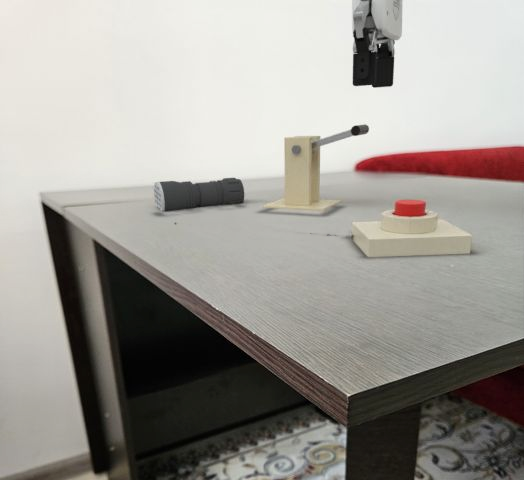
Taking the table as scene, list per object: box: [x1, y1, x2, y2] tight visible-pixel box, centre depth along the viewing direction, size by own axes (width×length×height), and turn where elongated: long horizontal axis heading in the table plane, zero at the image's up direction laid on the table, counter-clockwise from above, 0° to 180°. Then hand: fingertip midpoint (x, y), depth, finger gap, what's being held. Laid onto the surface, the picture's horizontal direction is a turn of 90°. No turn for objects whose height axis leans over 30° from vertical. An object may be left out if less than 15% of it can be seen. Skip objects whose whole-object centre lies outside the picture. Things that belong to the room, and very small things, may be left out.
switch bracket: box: [261, 135, 342, 212], centre depth 88 cm, size 11×9×12 cm
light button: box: [394, 199, 427, 217], centre depth 63 cm, size 4×4×2 cm
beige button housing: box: [350, 208, 473, 258], centre depth 64 cm, size 12×10×4 cm
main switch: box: [312, 123, 370, 154], centre depth 84 cm, size 12×5×2 cm, turn 64°
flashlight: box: [153, 177, 245, 212], centre depth 91 cm, size 15×5×5 cm, turn 115°
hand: (373, 86), depth 77 cm, fingers open, 9 cm apart
